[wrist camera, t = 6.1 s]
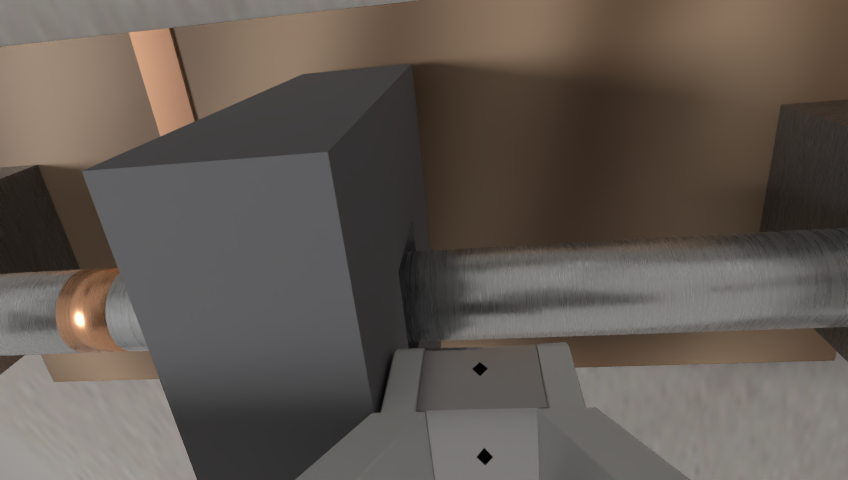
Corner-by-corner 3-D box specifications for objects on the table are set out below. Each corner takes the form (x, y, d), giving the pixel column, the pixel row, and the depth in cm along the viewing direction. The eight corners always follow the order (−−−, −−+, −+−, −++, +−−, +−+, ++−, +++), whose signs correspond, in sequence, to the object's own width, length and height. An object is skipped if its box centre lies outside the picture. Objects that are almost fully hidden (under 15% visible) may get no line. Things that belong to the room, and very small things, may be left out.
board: (911, -54, 13) (946, -58, 12) (816, 342, 18) (836, 362, 17) (-70, 54, 17) (-104, 58, 16) (71, 365, 21) (52, 383, 20)
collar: (411, 63, 14) (327, 152, 6) (441, 344, 18) (414, 639, 10) (302, 73, 14) (81, 170, 6) (353, 347, 18) (254, 634, 10)
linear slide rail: (861, 97, 14) (1110, 161, 9) (823, 266, 16) (1004, 404, 11) (-19, 169, 17) (-251, 249, 12) (42, 303, 19) (-131, 424, 14)
